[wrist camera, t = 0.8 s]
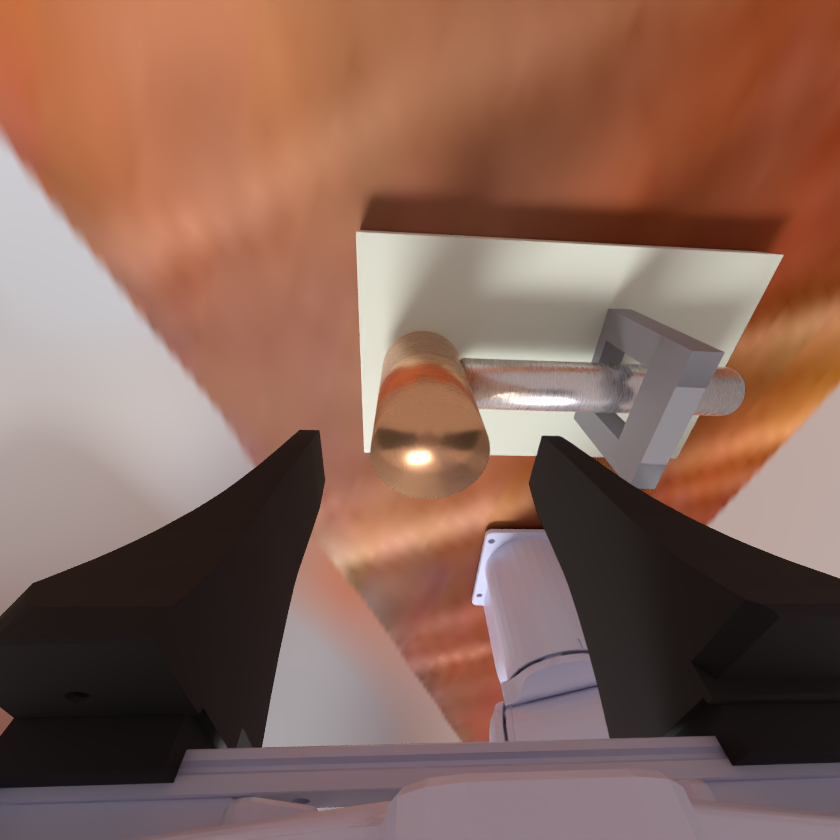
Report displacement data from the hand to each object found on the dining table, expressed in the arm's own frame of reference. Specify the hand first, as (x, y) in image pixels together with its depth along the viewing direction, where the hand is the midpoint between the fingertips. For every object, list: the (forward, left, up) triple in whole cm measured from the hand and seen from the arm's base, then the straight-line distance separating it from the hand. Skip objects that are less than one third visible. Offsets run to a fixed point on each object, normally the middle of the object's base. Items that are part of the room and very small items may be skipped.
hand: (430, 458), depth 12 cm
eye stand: (0, -7, -10) cm, 12 cm away
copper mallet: (0, -6, -7) cm, 10 cm away
